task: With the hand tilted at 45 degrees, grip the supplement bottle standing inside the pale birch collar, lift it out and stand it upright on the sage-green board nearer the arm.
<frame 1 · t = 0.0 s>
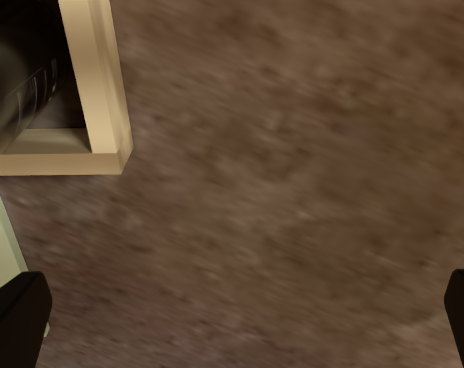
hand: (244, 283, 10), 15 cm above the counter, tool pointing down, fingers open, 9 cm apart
supplement bottle: (5, 45, 22), resting in birch collar
birch collar: (3, 46, 21), on the counter
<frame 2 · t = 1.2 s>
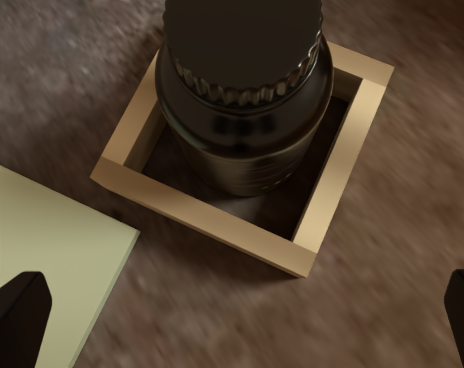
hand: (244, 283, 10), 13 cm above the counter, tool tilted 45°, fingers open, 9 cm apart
supplement bottle: (244, 141, 24), resting in birch collar
birch collar: (244, 140, 24), on the counter
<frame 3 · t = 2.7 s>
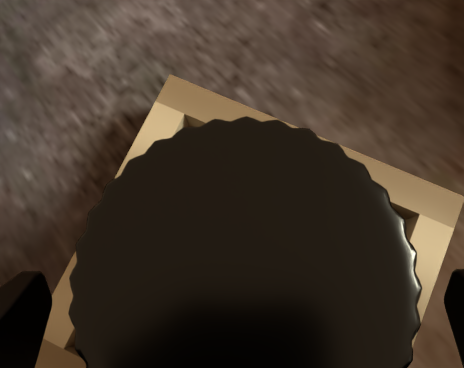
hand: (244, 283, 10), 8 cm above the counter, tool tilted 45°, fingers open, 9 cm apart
supplement bottle: (245, 280, 18), resting in birch collar
birch collar: (245, 280, 17), on the counter
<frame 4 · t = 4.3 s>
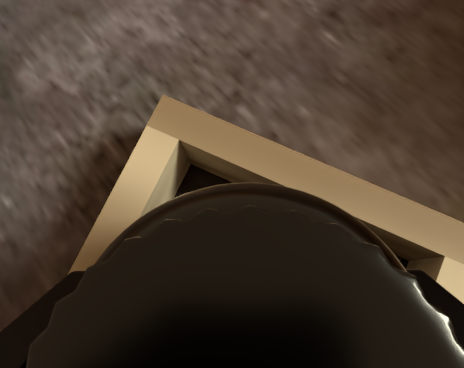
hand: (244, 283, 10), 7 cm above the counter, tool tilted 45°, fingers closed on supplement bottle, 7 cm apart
supplement bottle: (247, 321, 16), resting in birch collar, touching gripper
birch collar: (247, 322, 16), on the counter
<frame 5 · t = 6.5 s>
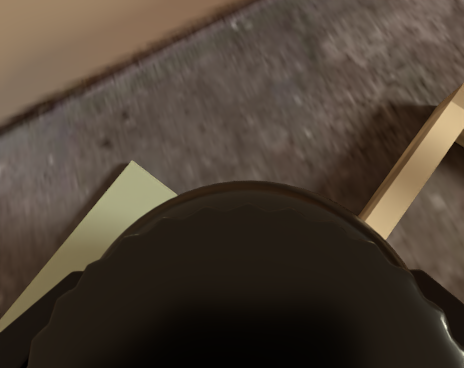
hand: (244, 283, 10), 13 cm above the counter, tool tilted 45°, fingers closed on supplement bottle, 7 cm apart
supplement bottle: (251, 319, 16), point 6 cm above the counter, touching gripper
sage board: (152, 352, 22), on the counter
when the fingers open (8 cm above the counter, at t = 9.1 s): supplement bottle stays where it is, resting on sage board.
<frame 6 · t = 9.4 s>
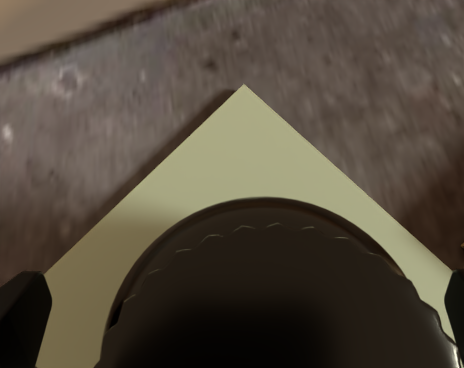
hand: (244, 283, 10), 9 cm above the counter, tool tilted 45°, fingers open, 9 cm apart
supplement bottle: (256, 320, 17), point 1 cm above the counter, touching sage board
sage board: (246, 317, 18), on the counter
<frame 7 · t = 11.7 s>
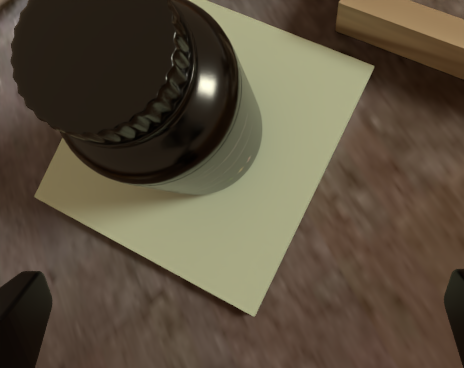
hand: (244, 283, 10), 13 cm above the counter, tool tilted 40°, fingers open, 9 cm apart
supplement bottle: (202, 134, 23), point 1 cm above the counter, touching sage board
sage board: (197, 138, 24), on the counter
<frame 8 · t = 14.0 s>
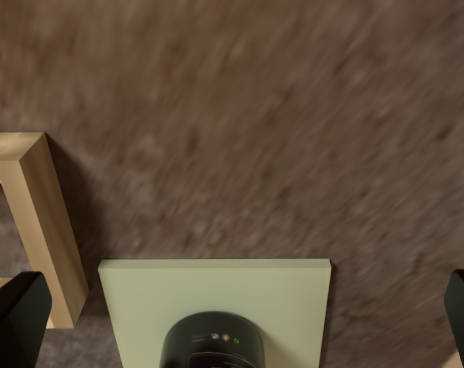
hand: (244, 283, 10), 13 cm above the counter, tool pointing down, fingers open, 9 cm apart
supplement bottle: (215, 338, 30), point 1 cm above the counter, touching sage board
sage board: (219, 334, 30), on the counter
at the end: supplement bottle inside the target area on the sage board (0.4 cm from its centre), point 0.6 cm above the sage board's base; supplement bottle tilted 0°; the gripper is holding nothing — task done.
